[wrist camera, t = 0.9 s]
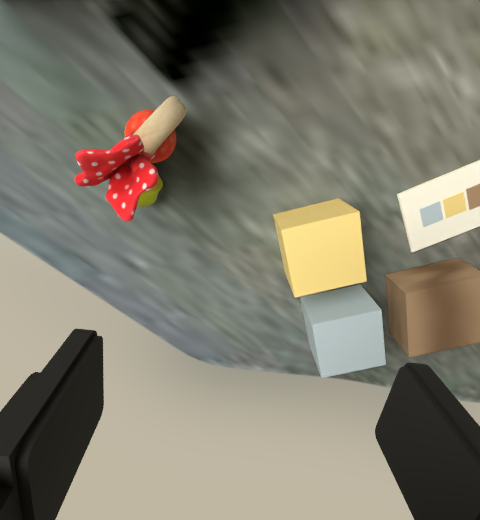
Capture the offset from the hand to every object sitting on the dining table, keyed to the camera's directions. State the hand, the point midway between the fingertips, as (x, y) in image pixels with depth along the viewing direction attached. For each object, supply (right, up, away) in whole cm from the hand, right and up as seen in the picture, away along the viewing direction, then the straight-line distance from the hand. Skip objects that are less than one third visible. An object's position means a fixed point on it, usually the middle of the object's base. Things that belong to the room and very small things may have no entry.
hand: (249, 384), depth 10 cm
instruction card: (+19, +9, +19) cm, 28 cm away
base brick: (+18, 0, +23) cm, 29 cm away
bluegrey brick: (+9, -2, +24) cm, 25 cm away
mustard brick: (+6, +6, +20) cm, 22 cm away
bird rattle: (-8, +13, +17) cm, 23 cm away
